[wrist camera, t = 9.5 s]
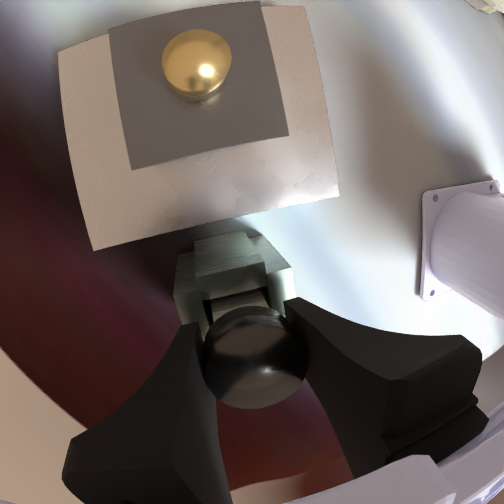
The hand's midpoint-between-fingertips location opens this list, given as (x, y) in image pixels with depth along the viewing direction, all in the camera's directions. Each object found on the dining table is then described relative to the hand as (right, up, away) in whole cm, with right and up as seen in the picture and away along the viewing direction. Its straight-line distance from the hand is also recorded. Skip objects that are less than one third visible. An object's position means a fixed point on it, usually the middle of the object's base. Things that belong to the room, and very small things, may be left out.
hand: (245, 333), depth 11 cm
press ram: (-1, +2, +5) cm, 5 cm away
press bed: (-2, +7, +4) cm, 8 cm away
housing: (-2, +9, +1) cm, 10 cm away
